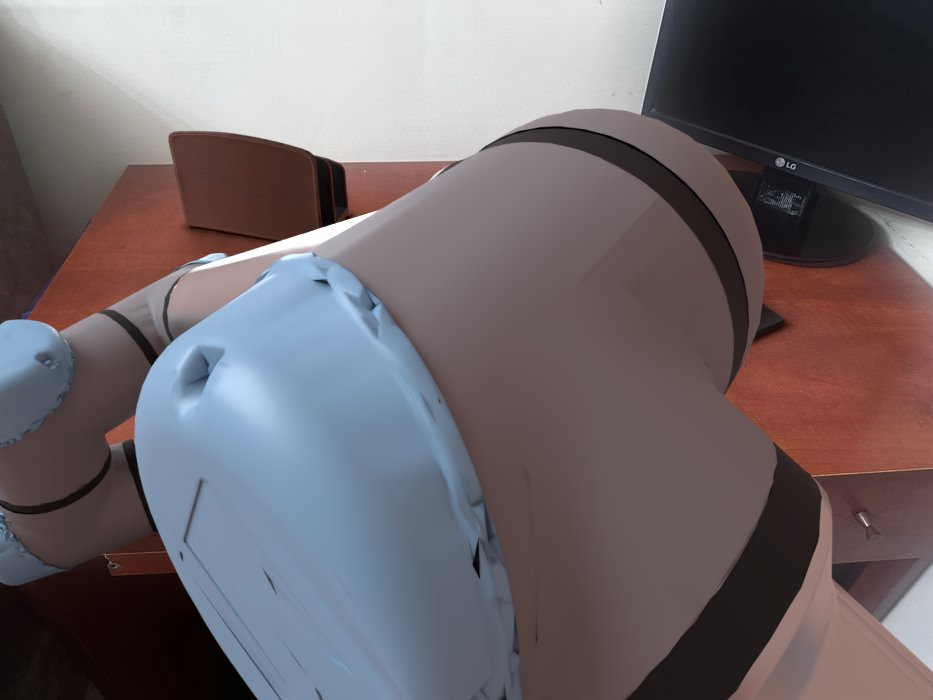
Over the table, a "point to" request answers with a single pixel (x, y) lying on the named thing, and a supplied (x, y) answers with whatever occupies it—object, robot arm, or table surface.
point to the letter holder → (255, 185)
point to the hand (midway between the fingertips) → (453, 371)
